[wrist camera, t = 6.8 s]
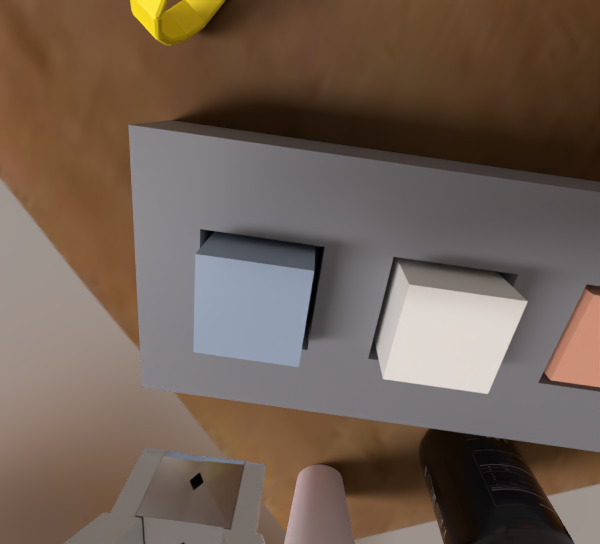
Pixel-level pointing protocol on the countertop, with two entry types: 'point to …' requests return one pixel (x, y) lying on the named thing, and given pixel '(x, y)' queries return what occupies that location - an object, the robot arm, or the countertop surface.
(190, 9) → the watch
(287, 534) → the smoothie
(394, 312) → the white key
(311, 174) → the key panel
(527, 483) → the supplement bottle
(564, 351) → the terracotta key
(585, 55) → the countertop surface
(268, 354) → the slate blue key
